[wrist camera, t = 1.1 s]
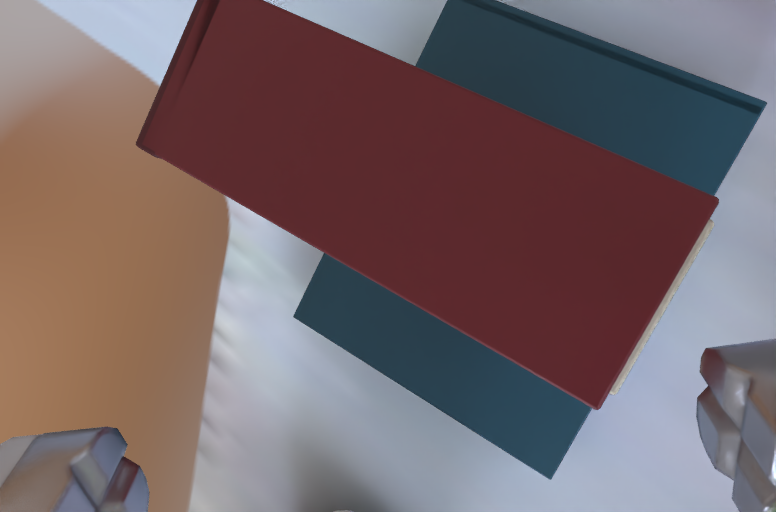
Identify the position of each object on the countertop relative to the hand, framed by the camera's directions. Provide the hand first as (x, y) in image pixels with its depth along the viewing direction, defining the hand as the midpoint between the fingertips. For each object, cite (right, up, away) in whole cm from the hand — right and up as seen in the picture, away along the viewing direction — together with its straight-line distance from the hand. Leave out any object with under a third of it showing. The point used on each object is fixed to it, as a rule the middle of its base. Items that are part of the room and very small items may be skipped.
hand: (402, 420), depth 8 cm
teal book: (+5, +3, +19) cm, 20 cm away
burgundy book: (+4, +4, +16) cm, 17 cm away
